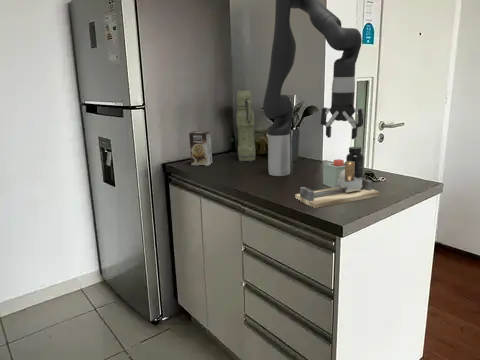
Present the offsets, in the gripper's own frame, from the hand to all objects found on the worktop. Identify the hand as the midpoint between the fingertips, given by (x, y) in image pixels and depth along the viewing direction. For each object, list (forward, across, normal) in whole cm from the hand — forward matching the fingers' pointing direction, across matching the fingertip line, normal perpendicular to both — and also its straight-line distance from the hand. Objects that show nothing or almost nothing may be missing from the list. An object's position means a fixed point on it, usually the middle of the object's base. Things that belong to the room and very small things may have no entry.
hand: (340, 138), depth 137 cm
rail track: (+19, -2, +8) cm, 21 cm away
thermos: (+21, +57, -35) cm, 70 cm away
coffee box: (+22, +74, -19) cm, 79 cm away
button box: (+19, +2, -6) cm, 20 cm away
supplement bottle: (+20, -1, -21) cm, 28 cm away
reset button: (+14, +2, -6) cm, 15 cm away
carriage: (+17, -5, +5) cm, 18 cm away
